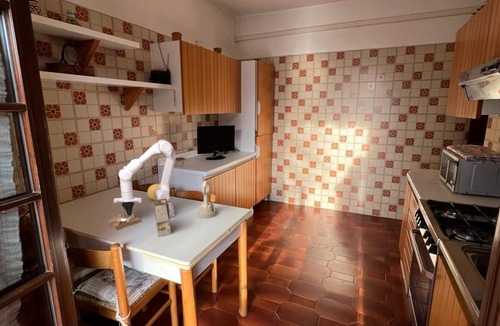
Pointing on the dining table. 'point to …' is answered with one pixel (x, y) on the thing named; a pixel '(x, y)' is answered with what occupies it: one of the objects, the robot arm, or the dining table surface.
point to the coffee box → (162, 217)
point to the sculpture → (153, 191)
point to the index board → (124, 224)
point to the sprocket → (123, 218)
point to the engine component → (206, 203)
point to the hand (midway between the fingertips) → (129, 214)
